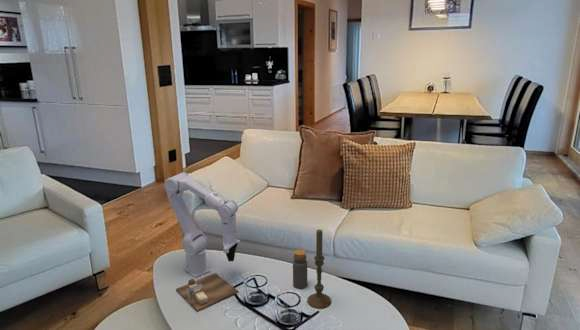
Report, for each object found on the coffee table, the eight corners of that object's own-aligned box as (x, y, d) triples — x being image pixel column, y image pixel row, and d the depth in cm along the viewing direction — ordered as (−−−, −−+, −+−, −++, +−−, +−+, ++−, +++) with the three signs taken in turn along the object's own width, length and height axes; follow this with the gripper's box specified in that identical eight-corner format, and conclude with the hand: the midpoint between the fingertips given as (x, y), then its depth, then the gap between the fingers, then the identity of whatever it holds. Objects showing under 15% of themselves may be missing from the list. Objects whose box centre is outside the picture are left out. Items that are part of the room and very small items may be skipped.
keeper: (187, 296, 150) (186, 288, 149) (201, 291, 154) (200, 283, 153) (190, 300, 148) (189, 292, 147) (204, 295, 151) (203, 287, 150)
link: (187, 287, 156) (186, 280, 156) (194, 284, 158) (193, 278, 157) (200, 305, 145) (200, 298, 144) (208, 302, 146) (207, 295, 146)
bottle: (306, 289, 155) (306, 256, 152) (291, 288, 157) (291, 254, 153) (308, 282, 161) (308, 249, 157) (294, 280, 162) (294, 247, 158)
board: (176, 290, 156) (176, 288, 156) (215, 274, 167) (215, 272, 167) (197, 312, 143) (197, 309, 143) (238, 293, 154) (238, 290, 154)
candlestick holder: (314, 311, 142) (315, 236, 134) (302, 298, 150) (302, 226, 142) (335, 304, 146) (337, 230, 138) (322, 292, 154) (323, 221, 146)
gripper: (235, 238, 151) (236, 269, 155) (242, 223, 165) (244, 252, 169) (217, 238, 152) (219, 269, 156) (226, 223, 166) (228, 251, 170)
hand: (231, 260), depth 162 cm, fingers closed
